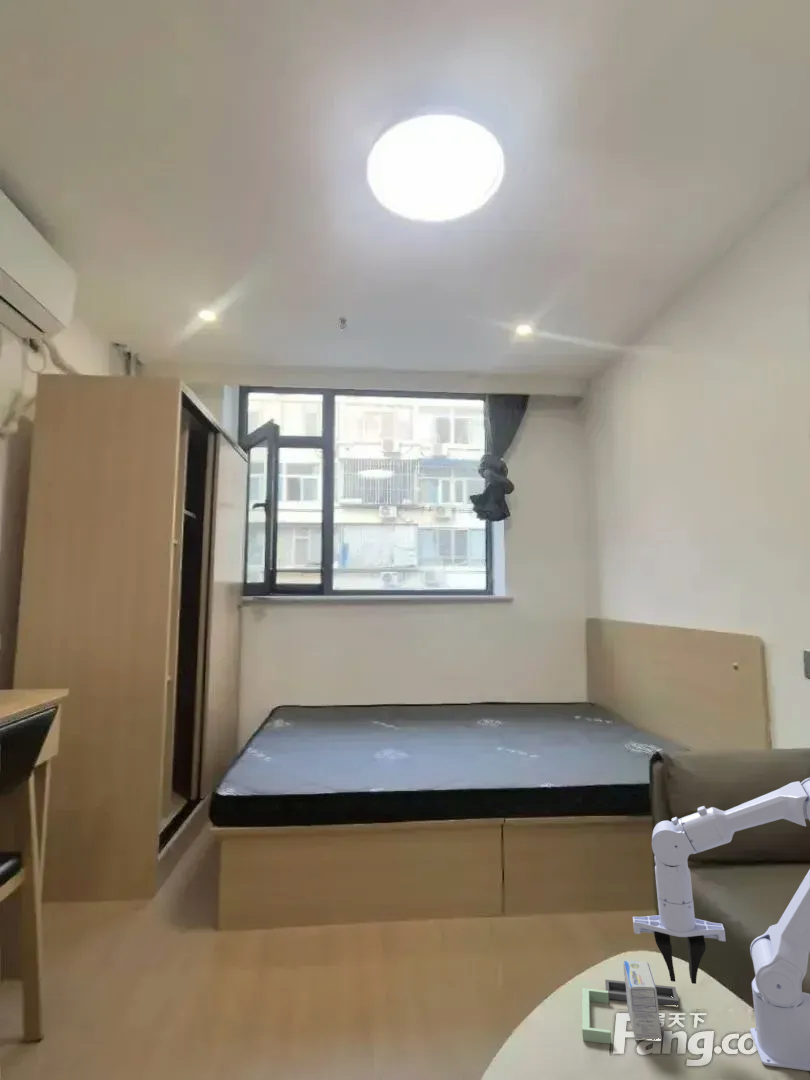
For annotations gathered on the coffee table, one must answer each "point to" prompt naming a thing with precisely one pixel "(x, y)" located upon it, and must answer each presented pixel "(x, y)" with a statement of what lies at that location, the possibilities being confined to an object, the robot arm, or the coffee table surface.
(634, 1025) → the medicine box
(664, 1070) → the coffee table surface
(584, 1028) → the mint green u-bracket
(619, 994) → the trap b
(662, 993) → the grey flat rectangular tray
